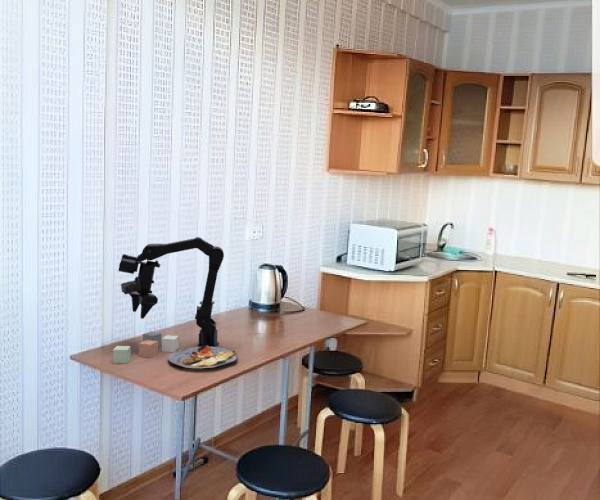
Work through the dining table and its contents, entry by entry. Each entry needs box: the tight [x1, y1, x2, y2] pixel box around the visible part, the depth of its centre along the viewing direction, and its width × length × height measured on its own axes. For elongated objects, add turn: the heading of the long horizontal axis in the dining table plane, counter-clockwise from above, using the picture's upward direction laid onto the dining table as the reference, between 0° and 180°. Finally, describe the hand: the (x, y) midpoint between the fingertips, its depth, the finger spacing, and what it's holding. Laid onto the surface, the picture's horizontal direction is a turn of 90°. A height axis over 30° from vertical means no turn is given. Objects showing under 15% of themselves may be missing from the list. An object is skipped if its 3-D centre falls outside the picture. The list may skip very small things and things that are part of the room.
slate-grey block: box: [142, 330, 162, 347], centre depth 244 cm, size 5×5×5 cm
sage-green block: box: [112, 345, 132, 364], centre depth 224 cm, size 5×5×5 cm
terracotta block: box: [138, 340, 159, 358], centre depth 232 cm, size 5×5×5 cm
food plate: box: [167, 345, 238, 370], centre depth 227 cm, size 25×23×4 cm
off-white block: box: [161, 334, 179, 353], centre depth 239 cm, size 5×5×5 cm
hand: (138, 315), depth 241 cm, fingers open, 9 cm apart
